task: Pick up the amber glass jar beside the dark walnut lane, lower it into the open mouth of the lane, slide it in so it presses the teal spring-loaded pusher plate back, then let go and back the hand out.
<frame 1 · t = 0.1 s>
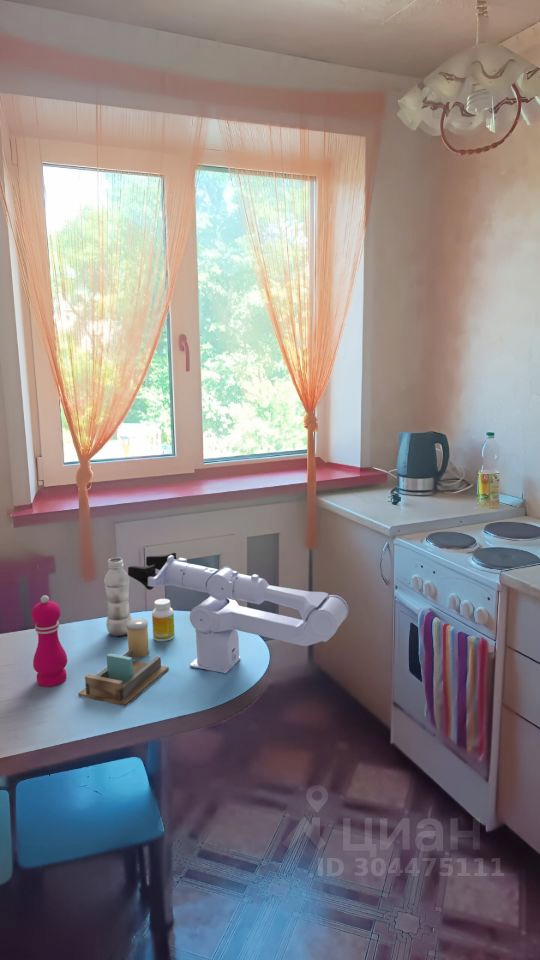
hand: (138, 565, 155), 22 cm above the table, tool horizontal, fingers open, 7 cm apart
pepper mill: (52, 681, 145), on the table
jar: (138, 653, 157), on the table
supplement bottle: (164, 638, 166), on the table
plastic bottle: (120, 634, 169), on the table
lane: (125, 682, 143), on the table
pusher: (120, 669, 141), point 4 cm above the table, slide at 0.0 cm
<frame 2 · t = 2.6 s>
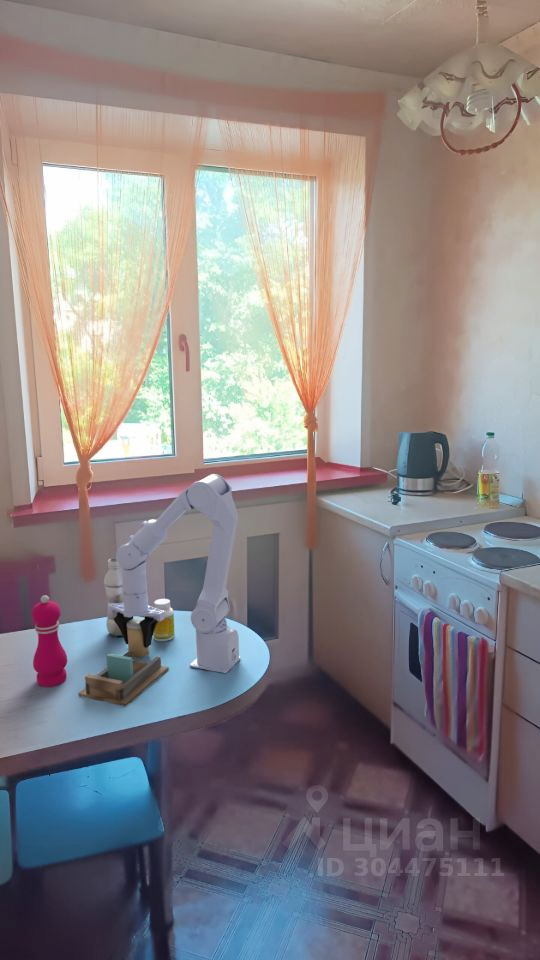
hand: (138, 644, 157), 2 cm above the table, tool pointing down, fingers closed on jar, 5 cm apart
jar: (138, 653, 157), on the table, touching gripper
everything else where it was.
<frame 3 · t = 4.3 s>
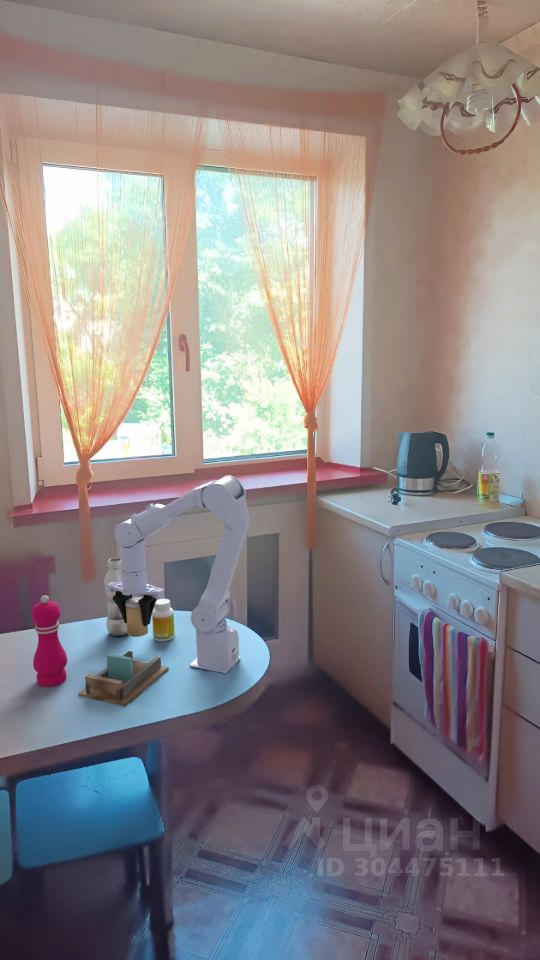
hand: (137, 623, 156), 8 cm above the table, tool pointing down, fingers closed on jar, 5 cm apart
jar: (137, 632, 156), point 5 cm above the table, touching gripper
everything else where it was.
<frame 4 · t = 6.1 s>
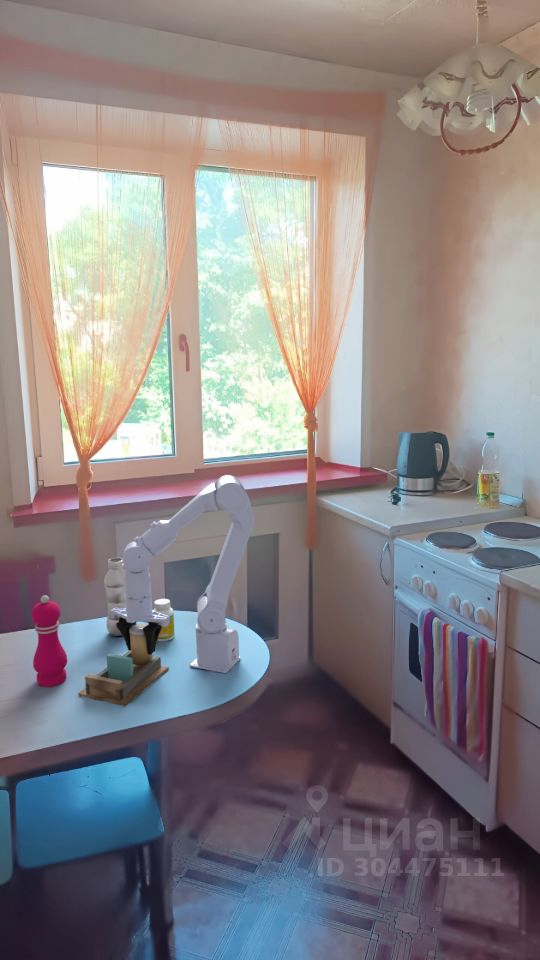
hand: (141, 650, 149), 4 cm above the table, tool pointing down, fingers closed on jar, 5 cm apart
jar: (142, 660, 149), point 2 cm above the table, touching gripper
everything else where it was.
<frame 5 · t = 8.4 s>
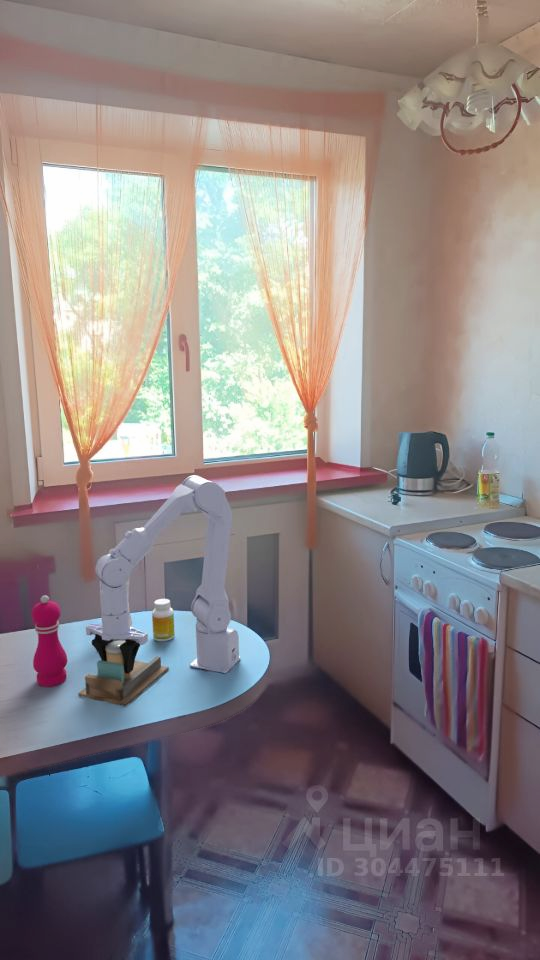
hand: (118, 669, 141), 4 cm above the table, tool pointing down, fingers closed on jar, 5 cm apart
jar: (119, 679, 141), point 2 cm above the table, touching gripper, pusher
pusher: (110, 676, 138), point 4 cm above the table, slide at 3.4 cm, touching jar
everything else where it was.
when the fingers open (4 cm above the table, at t = 9.6 s): jar stays where it is, resting on lane.
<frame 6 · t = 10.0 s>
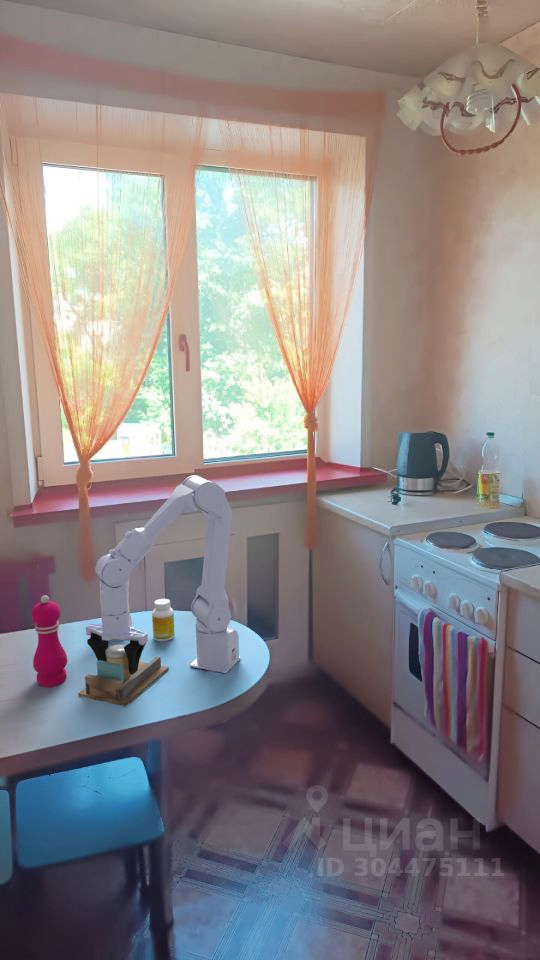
hand: (118, 669, 141), 4 cm above the table, tool pointing down, fingers open, 7 cm apart
jar: (119, 683, 142), point 1 cm above the table, touching lane
pusher: (110, 676, 138), point 4 cm above the table, slide at 3.4 cm
everything else where it was.
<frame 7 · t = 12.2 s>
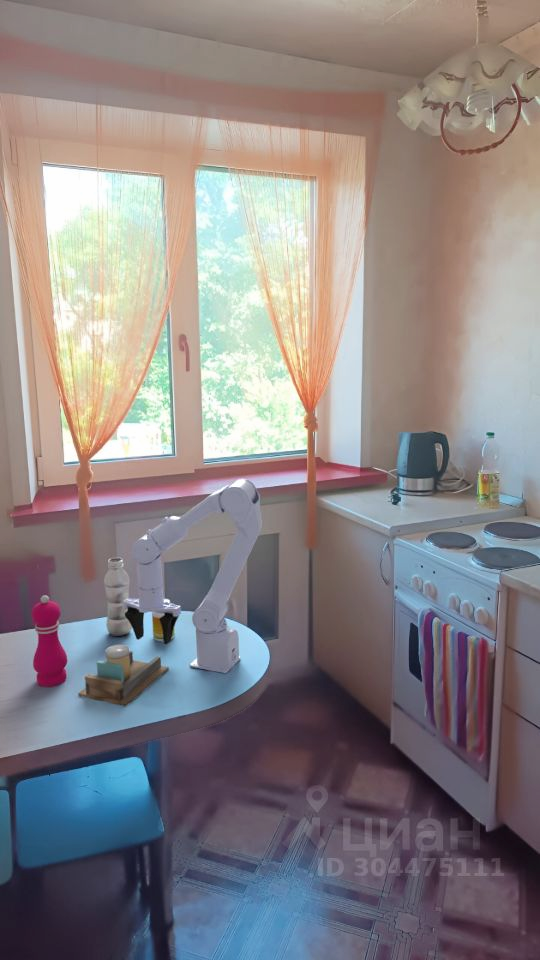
hand: (153, 640, 153), 5 cm above the table, tool pointing down, fingers open, 7 cm apart
nothing on the table moved.
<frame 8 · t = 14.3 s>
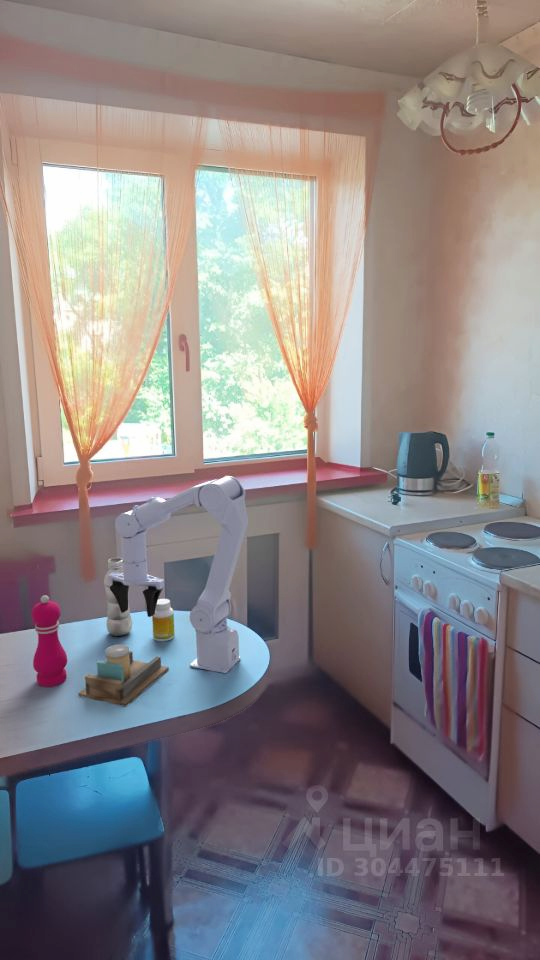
hand: (137, 613, 158), 9 cm above the table, tool pointing down, fingers open, 7 cm apart
nothing on the table moved.
at the end: jar 0.0 cm from the target spot, point 0.6 cm above the table; jar tilted 0°; pusher slide at 3.4 cm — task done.
